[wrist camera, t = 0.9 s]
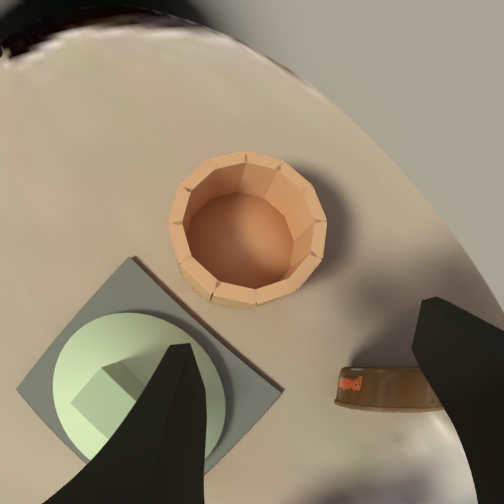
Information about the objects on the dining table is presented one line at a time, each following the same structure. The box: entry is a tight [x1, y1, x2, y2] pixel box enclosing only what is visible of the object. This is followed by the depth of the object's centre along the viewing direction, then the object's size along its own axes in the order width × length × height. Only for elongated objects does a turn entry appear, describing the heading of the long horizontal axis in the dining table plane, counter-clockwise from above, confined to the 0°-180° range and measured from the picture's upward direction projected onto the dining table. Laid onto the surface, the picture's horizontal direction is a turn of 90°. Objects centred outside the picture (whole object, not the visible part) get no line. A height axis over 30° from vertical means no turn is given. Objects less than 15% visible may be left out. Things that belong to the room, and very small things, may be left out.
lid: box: [53, 313, 225, 460], centre depth 16 cm, size 12×12×5 cm
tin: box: [334, 367, 445, 413], centre depth 18 cm, size 15×3×8 cm, turn 82°
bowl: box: [167, 151, 327, 310], centre depth 20 cm, size 9×9×5 cm
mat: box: [16, 257, 281, 474], centre depth 19 cm, size 14×14×1 cm
